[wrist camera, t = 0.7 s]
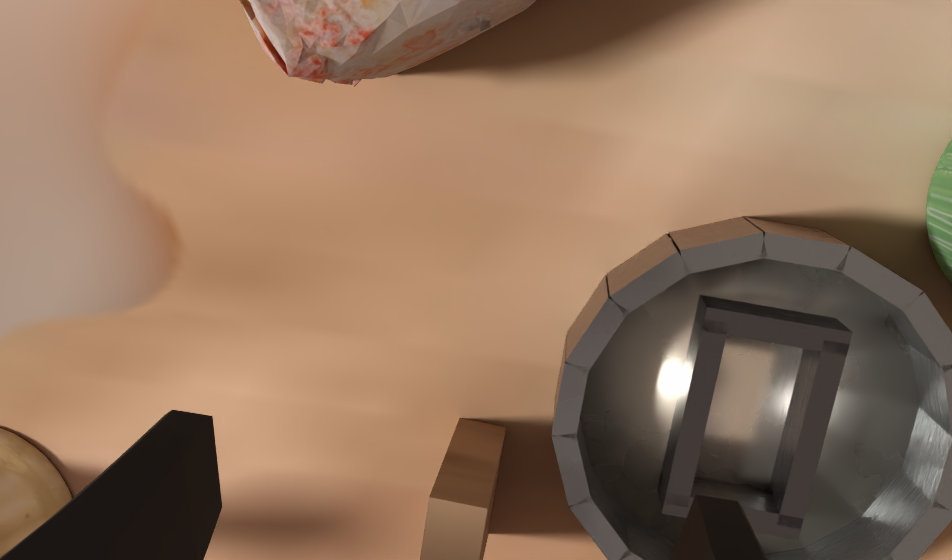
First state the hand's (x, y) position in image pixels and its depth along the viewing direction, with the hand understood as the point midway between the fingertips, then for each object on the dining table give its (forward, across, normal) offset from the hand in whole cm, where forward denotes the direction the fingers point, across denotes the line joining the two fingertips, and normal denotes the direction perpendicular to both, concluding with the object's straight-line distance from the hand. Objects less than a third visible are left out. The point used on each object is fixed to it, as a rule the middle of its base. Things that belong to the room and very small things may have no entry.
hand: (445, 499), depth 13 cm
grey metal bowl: (+15, -9, +10) cm, 20 cm away
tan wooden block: (+14, 0, +15) cm, 20 cm away
